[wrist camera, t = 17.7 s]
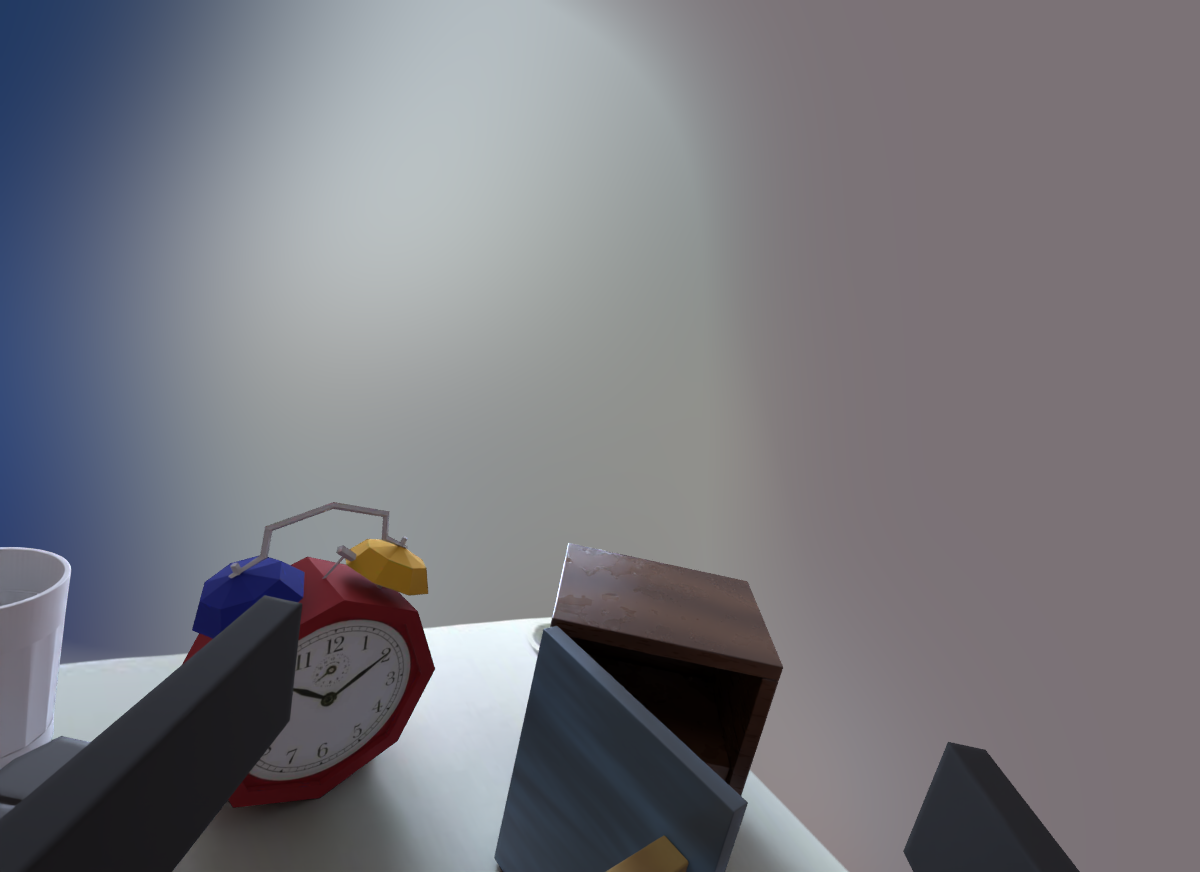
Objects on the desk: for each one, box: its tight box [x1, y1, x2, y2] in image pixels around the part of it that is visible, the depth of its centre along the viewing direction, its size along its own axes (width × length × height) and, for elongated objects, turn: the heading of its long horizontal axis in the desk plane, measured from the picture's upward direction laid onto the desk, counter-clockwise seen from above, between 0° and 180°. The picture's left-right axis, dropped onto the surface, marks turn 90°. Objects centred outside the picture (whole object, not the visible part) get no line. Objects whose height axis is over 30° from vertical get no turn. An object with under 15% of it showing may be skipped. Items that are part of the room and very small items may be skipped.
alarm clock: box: [182, 502, 435, 808], centre depth 41 cm, size 15×9×20 cm, turn 135°
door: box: [494, 626, 748, 872], centre depth 31 cm, size 7×14×17 cm, turn 40°
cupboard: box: [550, 543, 783, 796], centre depth 44 cm, size 11×14×17 cm
